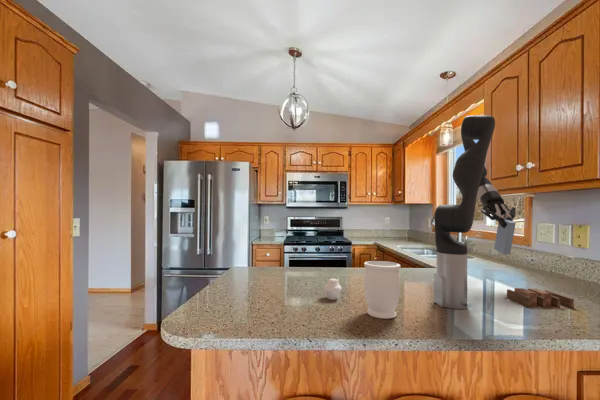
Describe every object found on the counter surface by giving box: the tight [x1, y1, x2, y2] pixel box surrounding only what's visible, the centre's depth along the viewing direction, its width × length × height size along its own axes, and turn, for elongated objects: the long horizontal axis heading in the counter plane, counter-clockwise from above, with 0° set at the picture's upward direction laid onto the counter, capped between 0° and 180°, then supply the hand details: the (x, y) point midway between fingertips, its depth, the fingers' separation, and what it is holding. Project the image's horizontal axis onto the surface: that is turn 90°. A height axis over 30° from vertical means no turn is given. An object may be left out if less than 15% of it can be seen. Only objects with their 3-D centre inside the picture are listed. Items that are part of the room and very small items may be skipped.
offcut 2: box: [527, 288, 551, 306], centre depth 100 cm, size 3×6×4 cm, turn 179°
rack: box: [505, 289, 575, 310], centre depth 100 cm, size 15×11×4 cm
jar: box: [363, 260, 402, 320], centre depth 88 cm, size 11×10×15 cm
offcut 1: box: [513, 287, 537, 306], centre depth 100 cm, size 3×6×4 cm, turn 179°
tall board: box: [493, 218, 517, 256], centre depth 117 cm, size 2×6×13 cm, turn 179°
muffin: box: [323, 278, 343, 301], centre depth 103 cm, size 6×6×7 cm
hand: (509, 226), depth 115 cm, fingers closed on tall board, 2 cm apart
